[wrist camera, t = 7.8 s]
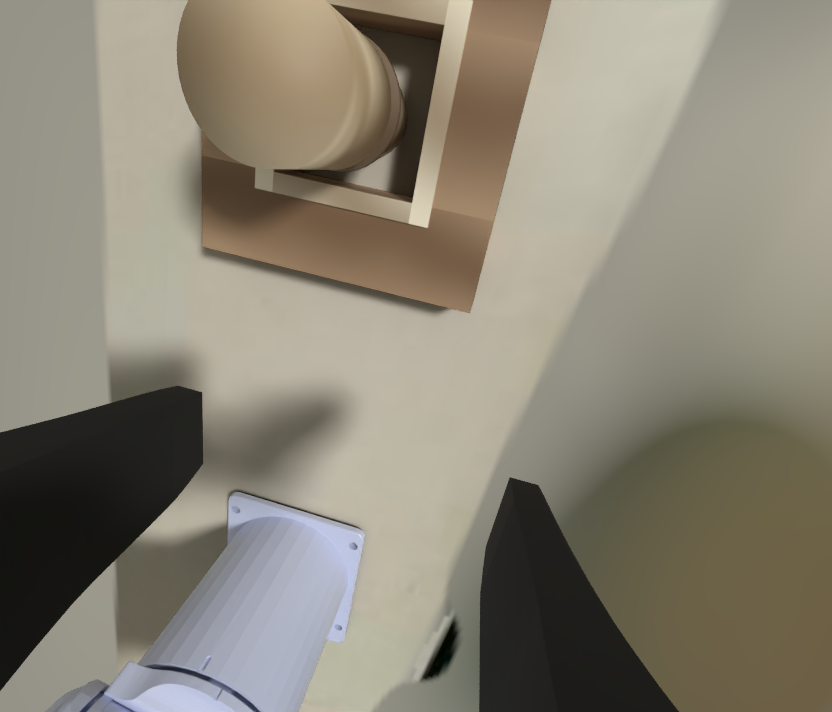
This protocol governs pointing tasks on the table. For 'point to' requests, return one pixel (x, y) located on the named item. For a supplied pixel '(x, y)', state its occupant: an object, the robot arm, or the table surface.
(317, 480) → the table surface
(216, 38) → the peg
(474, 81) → the board
